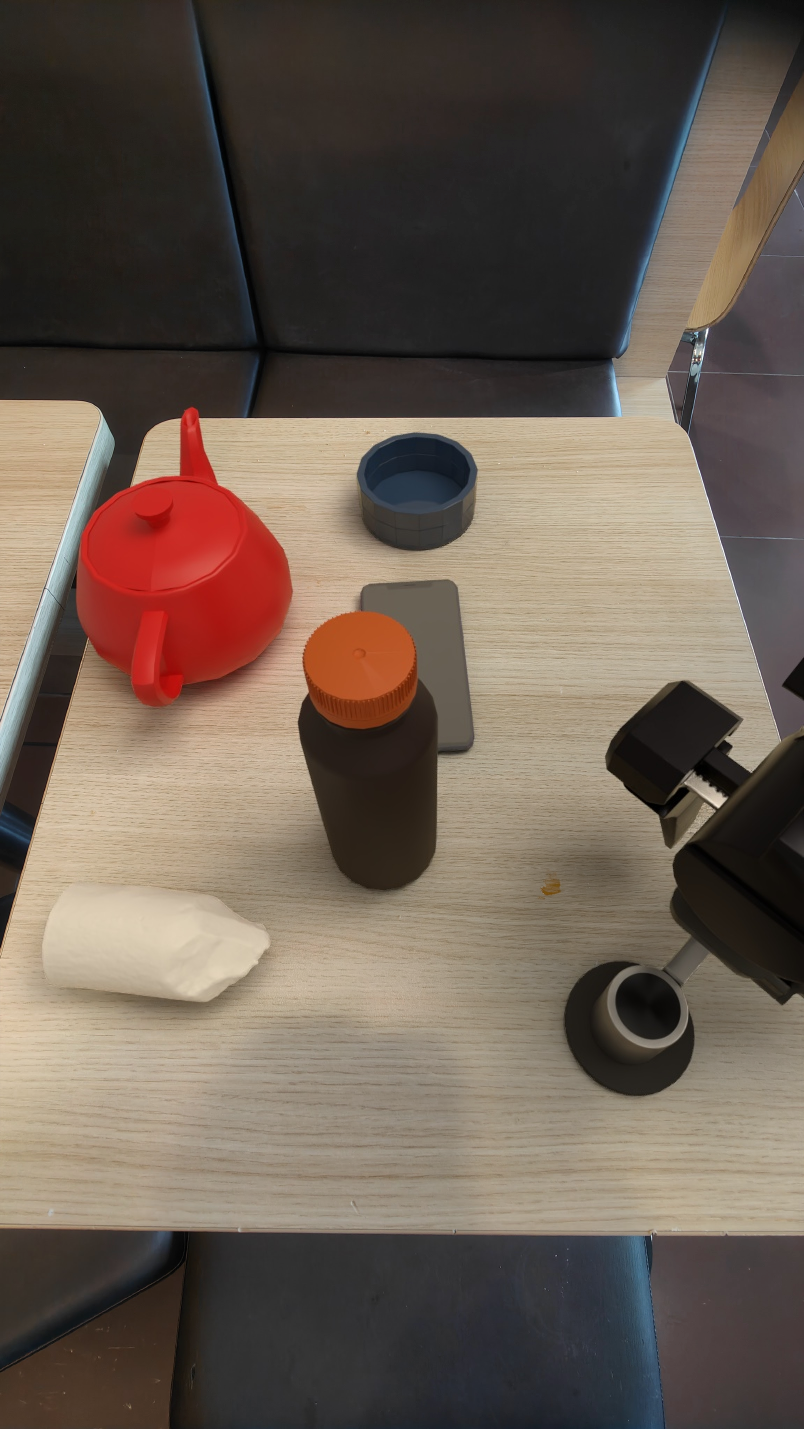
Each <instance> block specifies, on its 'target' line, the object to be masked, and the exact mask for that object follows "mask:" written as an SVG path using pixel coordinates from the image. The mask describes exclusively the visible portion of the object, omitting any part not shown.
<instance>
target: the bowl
mask: <svg viewBox="0 0 804 1429" xmlns="http://www.w3.org/2000/svg"><path fill="white" fill-rule="evenodd" d="M478 470H479V469H478V467H477V464H476V461H475V459H474V457H473V455H472V452H470V451H469V450H468V449H467V448H466V447H464V446H463V445H462V444H461V443H460V442H459V441H457V440H454V439H451V438H449V437H446V436H444V435H442V434H438V433H431V432H429V433H427V432H419V431H418V432H417V431H414V432H407V433H401V434H396V435H392V436H390V437H388V438H386V439H383V440H381V441H379V442H377V443H375V444H373V446H372V447H371V448H370V449H368V451H366V453H365V454H364V455H363V456H361V458H360V461H359V465H358V468H357V471H356V484H357V493H358V503H359V509H360V514H361V519H362V522H363V525H364V526H365V528H366V529H367V530H368V532H369V533H370V534H371V535H372V536H373V537H375V539H377V540H379V541H380V542H382V543H384V544H385V545H388V546H390V547H393V548H397V549H400V550H401V549H402V550H407V551H425V550H432V549H436V548H440V547H442V546H443V547H444V546H445V545H448V544H450V543H452V542H454V541H455V540H457V539H459V537H461V536H462V535H463V534H465V532H467V530H468V528H469V527H470V526H471V524H472V522H473V520H474V516H475V509H476V503H477V488H478V474H479V471H478Z"/></svg>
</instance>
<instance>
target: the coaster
mask: <svg viewBox="0 0 804 1429" xmlns="http://www.w3.org/2000/svg"><path fill="white" fill-rule="evenodd" d="M637 965H642V964H640V963H638V962H633V961H626V960H617V961H616V960H615V961H608V962H604V963H601V964H599V965H597V966H594V967H592V968H591V969H589V970H588V971H586V972H585V973H584V974H583V975H582V976H581V977H580V978H579V979H578V980H577V982H575V984H574V986H573V987H572V989H571V991H570V992H569V996H568V998H567V999H566V1004H565V1008H564V1016H563V1017H564V1022H563V1023H564V1032H565V1037H566V1040H567V1043H568V1046H569V1049H570V1051H571V1053H572V1055H573V1057H574V1059H575V1060H576V1062H577V1063H578V1065H579V1066H580V1068H581V1069H582V1070H584V1072H585V1073H586V1075H588V1076H589V1077H590V1078H591V1079H592V1080H594V1081H595V1082H596V1083H598V1084H599V1086H602V1087H604V1088H606V1089H607V1090H609V1091H611V1092H614V1093H616V1094H620V1095H623V1096H630V1097H644V1096H651V1095H654V1094H657V1093H660V1092H662V1091H664V1090H666V1089H667V1088H669V1087H671V1086H672V1085H674V1084H675V1083H676V1082H678V1080H679V1079H680V1078H681V1077H682V1076H683V1075H684V1073H685V1072H686V1071H687V1069H688V1067H689V1065H690V1063H691V1060H692V1058H693V1057H692V1056H693V1055H694V1054H693V1053H694V1048H695V1026H694V1022H693V1021H694V1020H693V1016H692V1015H691V1012H690V1009H689V1008H688V1012H689V1015H688V1023H687V1026H686V1029H685V1031H684V1033H683V1034H682V1036H681V1037H680V1038H679V1039H678V1040H677V1041H676V1042H675V1043H673V1044H672V1045H670V1046H669V1047H668V1048H666V1049H665V1050H663V1051H662V1052H660V1053H659V1054H657V1055H656V1056H655V1057H653V1058H652V1059H650V1060H649V1061H647V1062H645V1063H642V1064H638V1065H627V1064H622V1063H619V1062H617V1061H615V1060H613V1059H611V1058H610V1057H608V1056H607V1055H606V1054H605V1053H604V1052H603V1051H602V1050H601V1049H600V1048H599V1047H598V1045H597V1044H596V1042H595V1040H594V1038H593V1035H592V1032H591V1028H590V1014H591V1010H592V1008H593V1005H594V1004H595V1002H596V1000H597V999H598V998H599V997H600V995H601V994H602V993H603V992H604V990H605V989H606V988H607V986H608V985H609V984H610V983H611V981H612V980H613V979H614V977H615V976H616V975H617V974H618V973H619V972H621V971H622V970H624V969H626V968H628V967H631V966H637Z"/></svg>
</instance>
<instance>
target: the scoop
mask: <svg viewBox="0 0 804 1429" xmlns="http://www.w3.org/2000/svg"><path fill="white" fill-rule="evenodd" d="M710 955H712V953H711V952H709V951H708V950H707V949H706V948H705V947H704V946H702V945H701V944H700V943H699V942H698V941H697V940H696V939H694V938H693V937H692V936H691V935H689V937H688V938H687V940H686V941H685V942H684V943H683V944H682V945H681V947H680V948H679V949H678V950H677V951H676V952H675V953H674V955H672V957H671V958H670V959H669V960H668V961H667V962H666V963H665V965H664V966H663V967H662V968H661V969H660V968H657V967H654V966H651V965H645V964H644V965H643V964H641V965H637V966H631V967H628V968H626V969H624V970H622V971H621V972H619V973H618V974H617V975H616V976H615V977H614V979H613V980H612V981H611V983H610V984H609V985H608V986H607V988H606V989H605V990H604V992H603V993H602V994H601V995H600V997H599V998H598V999H597V1000H596V1002H595V1004H594V1005H593V1008H592V1010H591V1014H590V1028H591V1032H592V1035H593V1038H594V1040H595V1042H596V1044H597V1045H598V1047H599V1048H600V1049H601V1050H602V1051H603V1052H604V1053H605V1054H606V1055H607V1056H608V1057H610V1058H611V1059H613V1060H615V1061H617V1062H619V1063H622V1064H627V1065H638V1064H642V1063H645V1062H647V1061H649V1060H650V1059H652V1058H653V1057H655V1056H656V1055H657V1054H659V1053H660V1052H662V1051H663V1050H665V1049H666V1048H668V1047H669V1046H670V1045H672V1044H673V1043H675V1042H676V1041H677V1040H678V1039H679V1038H680V1037H681V1036H682V1034H683V1033H684V1031H685V1029H686V1026H687V1023H688V1015H689V1012H688V1009H689V1004H688V1001H687V998H686V995H685V993H684V991H683V989H682V987H683V986H684V985H685V984H686V983H687V982H688V980H689V979H690V978H691V977H692V976H693V975H694V974H695V972H696V971H697V970H698V969H699V968H700V966H701V965H702V964H703V963H704V962H705V961H706V960H707V959H708V957H709V956H710Z"/></svg>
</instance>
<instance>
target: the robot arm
mask: <svg viewBox="0 0 804 1429" xmlns="http://www.w3.org/2000/svg"><path fill="white" fill-rule="evenodd" d="M781 687H782V688H783V689H785V690H787V691H788V692H789V693H791V694H792V695H794V696H795V697H796V698H798V699H800V700H801V701H803V702H804V656H803V657H802V658H801V659H800V661H799V662H798V663H797V665H796V666H795V667H794V668H793V670H792V671H791V672H790V674H789V675H787V677H786V679H785V680H784V681H783V683H782V684H781ZM743 721H744V718H743V717H742V716H740V715H739V714H738V713H735V712H734V711H733V710H731V708H729V707H727V706H726V705H725V704H723V703H722V702H721V701H718V700H717V699H716V698H714V697H713V696H712V695H710V694H709V693H707V692H706V691H705V690H703V689H702V688H700V687H699V686H698V685H696V684H695V683H693V682H692V681H691V680H688V679H685V680H684V679H683V680H677V681H676V680H675V681H670V682H667V683H666V684H665V685H664V686H663V687H662V688H661V689H659V691H658V692H657V693H656V694H655V695H653V697H652V698H650V699H649V700H648V701H647V702H646V703H645V704H644V705H643V706H642V707H641V708H640V709H638V711H637V712H635V714H633V715H632V716H631V717H630V718H629V719H628V720H627V721H626V722H625V723H624V724H623V725H622V726H620V728H619V729H618V731H616V733H615V734H614V736H613V737H612V739H611V740H610V742H609V745H608V747H607V749H606V752H605V755H604V760H605V768H606V771H607V772H609V773H610V774H611V775H612V776H614V777H615V778H616V779H617V780H619V781H620V782H621V783H622V784H623V786H624V788H625V790H626V791H628V792H629V793H630V794H631V795H632V796H634V797H635V798H636V799H638V800H639V801H640V802H641V803H643V804H644V805H645V806H646V807H648V808H649V809H650V810H651V811H652V812H654V813H655V814H656V815H657V816H658V819H659V824H660V829H661V833H662V838H663V842H664V845H665V847H667V849H669V850H672V849H673V848H674V847H675V846H676V845H677V844H678V843H679V842H680V841H681V840H682V838H683V837H684V836H685V835H686V833H687V832H688V831H689V829H691V827H692V825H693V824H694V822H695V821H696V818H697V816H698V814H699V813H700V811H701V809H702V808H703V805H704V803H705V804H706V805H707V806H709V807H710V808H711V809H713V810H714V812H713V813H712V814H711V816H710V817H709V818H708V819H707V820H706V821H705V822H704V823H703V824H702V825H701V826H700V827H699V829H697V831H695V833H694V834H693V835H692V836H691V837H690V838H689V839H688V840H687V841H686V842H685V843H684V844H683V846H682V847H681V848H680V849H679V850H678V851H677V852H676V853H675V854H674V857H673V861H672V873H673V879H674V881H675V884H676V887H675V889H674V891H673V893H672V895H671V898H670V901H669V913H670V916H671V918H672V919H673V921H674V922H675V924H677V925H678V926H679V927H680V928H681V929H682V930H683V931H684V932H685V933H687V934H688V935H689V936H692V937H693V938H694V939H696V940H697V941H698V942H699V943H700V944H701V945H702V946H704V947H705V948H706V949H707V950H708V951H709V952H711V955H713V956H714V957H715V958H716V959H717V960H718V961H720V962H721V963H722V964H723V965H724V966H725V967H726V968H727V969H729V971H730V972H732V973H734V974H735V976H738V977H741V978H743V979H749V980H750V981H752V982H753V983H754V984H756V985H757V986H758V987H759V988H760V989H761V990H762V991H764V992H765V993H766V994H767V995H768V996H770V997H771V998H772V999H773V1000H775V1002H777V1003H778V1004H779V1005H780V1006H784V1005H785V1004H787V1003H788V1002H789V1000H790V999H792V997H793V996H795V995H798V996H800V997H801V998H802V999H804V724H802V726H801V727H800V729H799V730H798V731H796V732H794V733H791V734H789V735H787V736H785V737H784V738H783V739H782V740H781V741H780V742H778V744H777V745H776V746H774V748H773V749H772V750H771V751H770V752H769V754H768V755H766V757H765V758H764V759H763V760H762V761H761V762H760V763H759V764H758V765H756V767H755V768H754V769H753V770H752V772H751V771H750V770H748V769H747V768H745V767H744V766H742V765H741V764H740V763H738V762H737V761H736V760H734V759H733V758H732V757H730V753H731V752H732V749H733V748H734V747H733V744H731V743H730V742H729V741H727V740H726V739H727V738H729V737H732V736H733V735H734V733H736V731H737V730H738V729H739V728H740V725H741V724H742V723H743Z"/></svg>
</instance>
